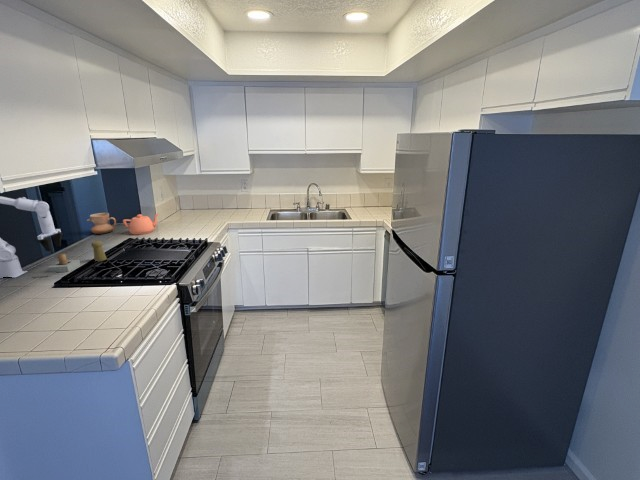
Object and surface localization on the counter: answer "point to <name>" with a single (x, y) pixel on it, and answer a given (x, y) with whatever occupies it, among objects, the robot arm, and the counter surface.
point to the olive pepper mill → (98, 251)
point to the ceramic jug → (101, 223)
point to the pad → (44, 274)
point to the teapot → (141, 224)
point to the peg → (62, 259)
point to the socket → (64, 266)
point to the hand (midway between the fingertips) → (53, 248)
